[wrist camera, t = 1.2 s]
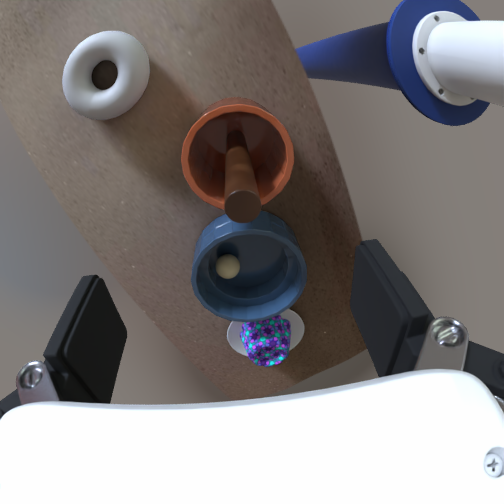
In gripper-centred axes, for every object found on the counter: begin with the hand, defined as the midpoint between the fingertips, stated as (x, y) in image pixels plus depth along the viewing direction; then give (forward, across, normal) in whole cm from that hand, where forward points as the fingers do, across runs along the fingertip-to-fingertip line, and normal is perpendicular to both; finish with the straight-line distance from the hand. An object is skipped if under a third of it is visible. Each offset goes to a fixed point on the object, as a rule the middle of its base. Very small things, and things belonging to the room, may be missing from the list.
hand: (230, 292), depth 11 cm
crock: (+25, -1, 0) cm, 25 cm away
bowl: (+25, 0, +15) cm, 29 cm away
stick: (+25, -1, 0) cm, 25 cm away
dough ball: (+23, +2, +15) cm, 28 cm away
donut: (+26, +12, -10) cm, 30 cm away
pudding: (+26, -2, +29) cm, 39 cm away
